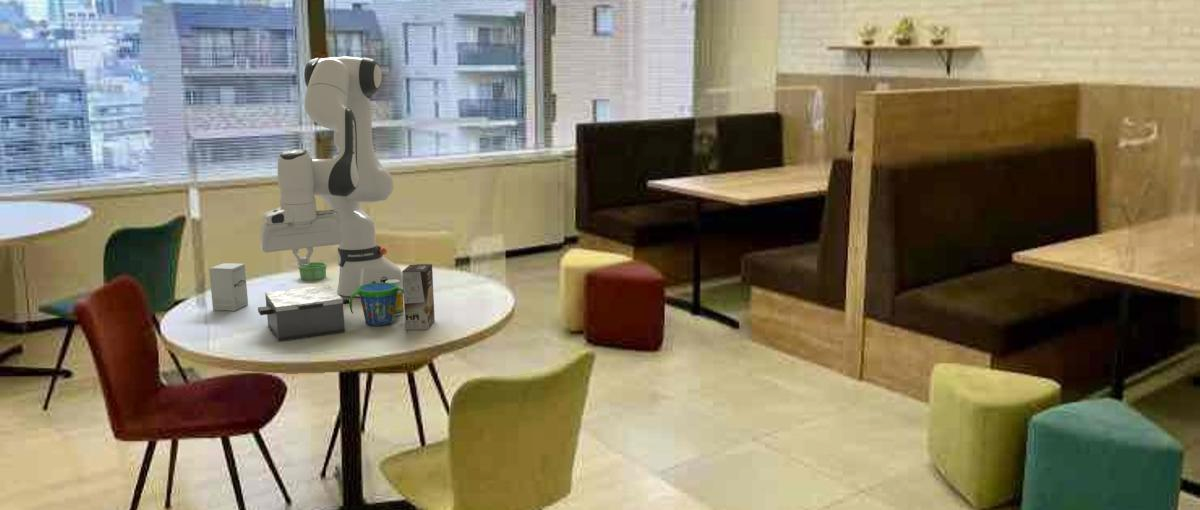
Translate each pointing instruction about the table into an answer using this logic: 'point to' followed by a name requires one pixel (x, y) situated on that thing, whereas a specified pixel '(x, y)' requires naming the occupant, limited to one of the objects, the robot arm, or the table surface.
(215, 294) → the supplement box
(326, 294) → the lid
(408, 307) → the coffee box
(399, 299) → the supplement bottle
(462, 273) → the table surface
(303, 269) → the ramekin
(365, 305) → the snack cup
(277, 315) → the cooker pot
